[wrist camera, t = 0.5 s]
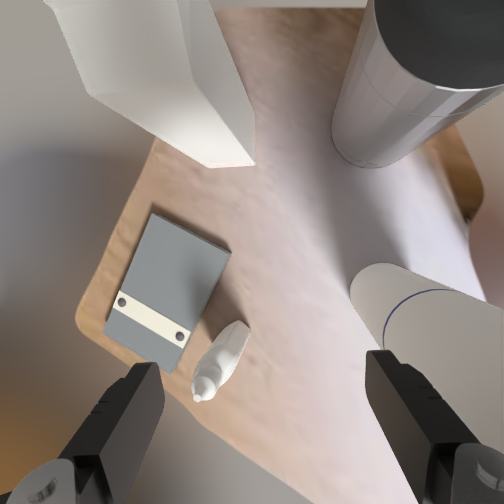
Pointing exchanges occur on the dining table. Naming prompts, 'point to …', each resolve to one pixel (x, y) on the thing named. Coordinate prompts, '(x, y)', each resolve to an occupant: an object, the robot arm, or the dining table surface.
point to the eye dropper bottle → (219, 361)
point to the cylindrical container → (439, 341)
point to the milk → (163, 73)
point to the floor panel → (165, 292)
